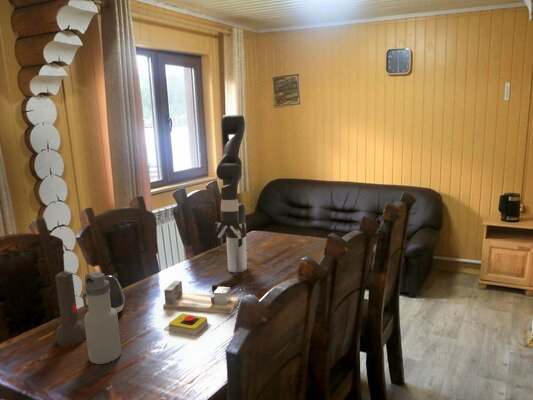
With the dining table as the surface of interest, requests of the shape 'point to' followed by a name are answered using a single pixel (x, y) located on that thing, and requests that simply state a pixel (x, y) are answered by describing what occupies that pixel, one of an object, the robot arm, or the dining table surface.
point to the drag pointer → (212, 300)
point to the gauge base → (193, 300)
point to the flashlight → (68, 312)
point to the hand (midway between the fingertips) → (230, 246)
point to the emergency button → (188, 325)
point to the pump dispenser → (115, 293)
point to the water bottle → (100, 320)
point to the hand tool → (229, 281)
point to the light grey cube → (222, 295)
